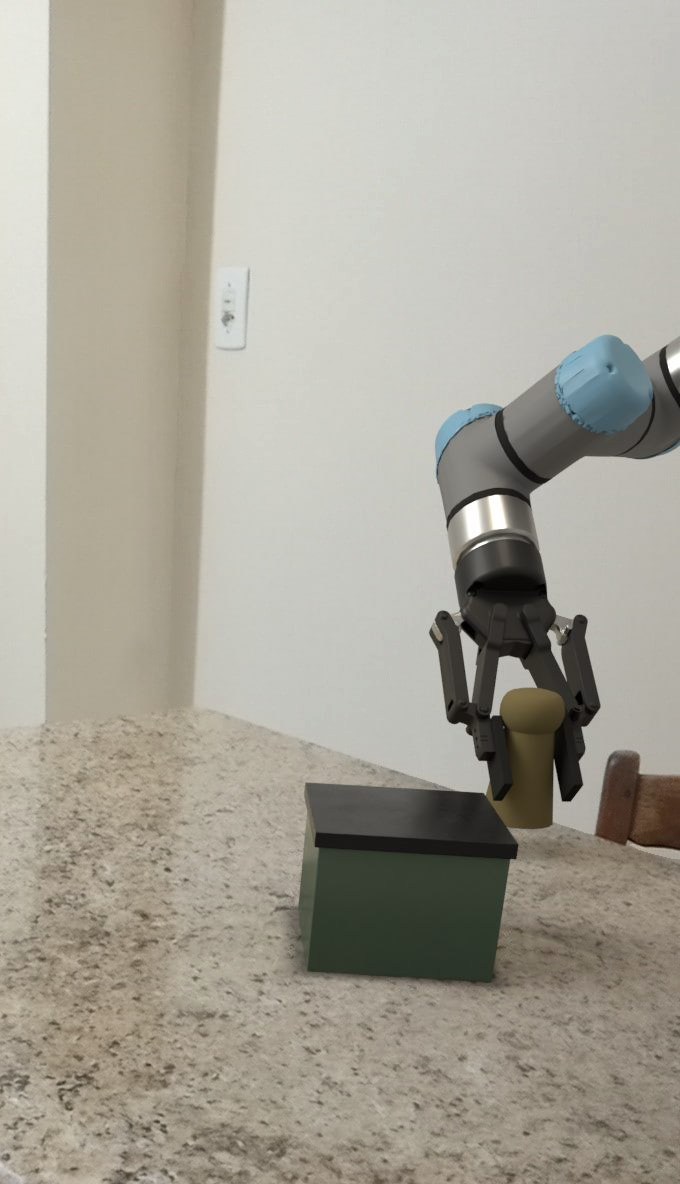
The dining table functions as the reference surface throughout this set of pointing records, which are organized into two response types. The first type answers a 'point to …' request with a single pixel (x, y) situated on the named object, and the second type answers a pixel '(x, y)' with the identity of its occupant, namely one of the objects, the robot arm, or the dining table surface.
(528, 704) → the cork
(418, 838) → the bin
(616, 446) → the robot arm
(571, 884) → the dining table surface
